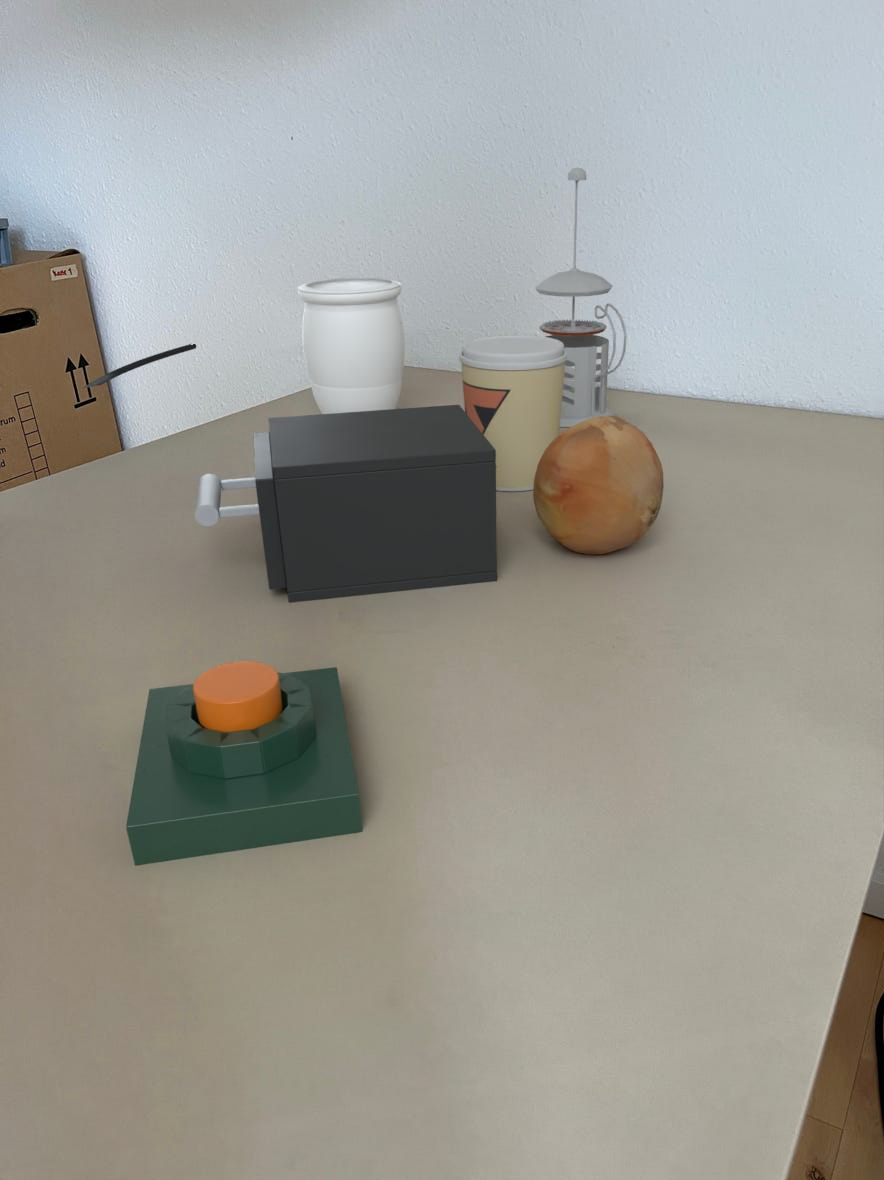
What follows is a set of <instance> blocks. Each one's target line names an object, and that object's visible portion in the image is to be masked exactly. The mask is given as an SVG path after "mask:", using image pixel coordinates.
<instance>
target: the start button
mask: <svg viewBox="0 0 884 1180" xmlns="http://www.w3.org/2000/svg"><path fill="white" fill-rule="evenodd" d="M277 672H278V671H277V670H276V669H275V668H274V667H273V666H271V665H269V664H266V663H264V662H260V661H254V660H253V661H251V660H241V661H231V662H227V663H223V664H219V665H217V666H214V667H212V668H210V669H208V670H206V671H204V672H203V673H201V674H200V675H199V676H198V677H197V678H196V679H195V680H194V683H193V684H194V685H193V692H194V698H195V703H196V709H197V714H198V719H199V722H200V724H201V725H202V726H203V727H204V728H206V729H210V730H216V731H222V732H232V731H240V730H248V729H254V728H256V727H259V726H261V725H263V724H266V723H268V722H270V721H273V720H275V719H276V718H277V717H278V716H279V715H280V713H281V711H282V707H283V705H282V697H281V690H280V682H279V675H278V673H279V672H278V673H277Z"/></svg>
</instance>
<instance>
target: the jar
mask: <svg viewBox="0 0 884 1180" xmlns="http://www.w3.org/2000/svg"><path fill="white" fill-rule="evenodd" d="M401 285H402V283H401V282H399V281H397V280H393V279H387V278H380V277H379V278H378V277H344V278H343V277H342V278H331V279H321V280H316V281H311V282H306V283H303V284H300V285H298V286H297V287H296V288H297V296H298V297H299V299H300V300H302V301H303V304H304V305H303V311H302V320H301V321H302V322H301V342H302V343H301V344H302V351H303V358H304V363H305V367H306V371H307V374H308V377H309V381H310V388H311V392H312V394H313V395H312V396H313V398H314V401H315V402H316V405H317V407H318V409H319V411H320V414H333V413H347V412H361V411H375V410H390V409H397V407H398V404H399V401H400V398H401V393H402V387H403V374H404V366H405V351H406V349H405V348H406V346H405V332H404V325H403V320H402V315H401V310H400V308H399V305H398V301H397V298H398V297H399V296H400V295H401V293H402V286H401Z"/></svg>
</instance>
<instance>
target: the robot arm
mask: <svg viewBox="0 0 884 1180" xmlns="http://www.w3.org/2000/svg"><path fill="white" fill-rule="evenodd" d="M191 344H192V343H189V344H186V345H182V346H179V347H175V348H172V349H169V350H166V351H162V352H159V353H156V354H153V355H149V356H147V357H145V358H141V359H139V360H136V361H133V362H130V363H128V364H125V365H123V366H121V367H119V368H117V369H114V370H112V371H109V372H108V373H106V374H104V375H102V376H99V377H98V378H97V379H95V380H93V381H91V382H90V383H88V384H86V385H85V386H83V387H82V389H87V388H91V387H97V386H102V385H103V384H106V383H108V382H109V381H111V380H113V379H115V378H117V377H119V376H122V375H123V374H126V373H128V372H130V371H134V370H136V369H138V368H140V367H142V366H145V365H148V364H151V363H155V362H157V361H160V360H163V359H166V358H170V357H172V356H176V355H178V354H181V353H186V352H189V351H192V350H195V349H197V344H196V343H195V344H193V345H191Z"/></svg>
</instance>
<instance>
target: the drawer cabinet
mask: <svg viewBox="0 0 884 1180" xmlns="http://www.w3.org/2000/svg"><path fill="white" fill-rule="evenodd" d="M267 420H268V430H269V431H268V432H270V443H271V455H272V466H273V475H274V483H275V492H276V500H277V508H278V517H279V525H280V533H281V542H282V550H283V558H284V567H285V575H286V583H287V587H286V591H287V600H288V603H289V604H292V603H301V602H310V601H321V600H329V599H330V600H331V599H339V598H349V597H360V596H368V595H377V594H379V595H380V594H387V593H399V592H406V591H416V590H417V591H418V590H426V589H434V588H435V589H436V588H446V587H455V586H465V585H474V584H483V583H492V582H493V583H494V582H497V581H498V571H497V570H498V557H497V556H498V555H497V553H498V550H497V549H498V548H497V546H498V545H497V544H498V543H497V542H498V541H497V490H496V462H495V461H496V450H495V449H494V447H493V446H492V445H491V444H490V442H489V441H488V440H487V439H486V437H485V436H484V435H483V434H482V433H481V431H480V430H479V429H478V428H477V426H476V425H475V424H474V423H473V421H472V420H471V419H470V418H469V416H468V415H467V414H466V413H465V409H463V408H462V407H461V404H449V405H448V404H447V405H434V406H433V405H432V406H420V407H418V406H417V407H406V408H396V409H390V410H375V411H361V412H347V413H333V414H322V413H319V414H306V415H290V416H279V417H269V418H268V419H267Z"/></svg>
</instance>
